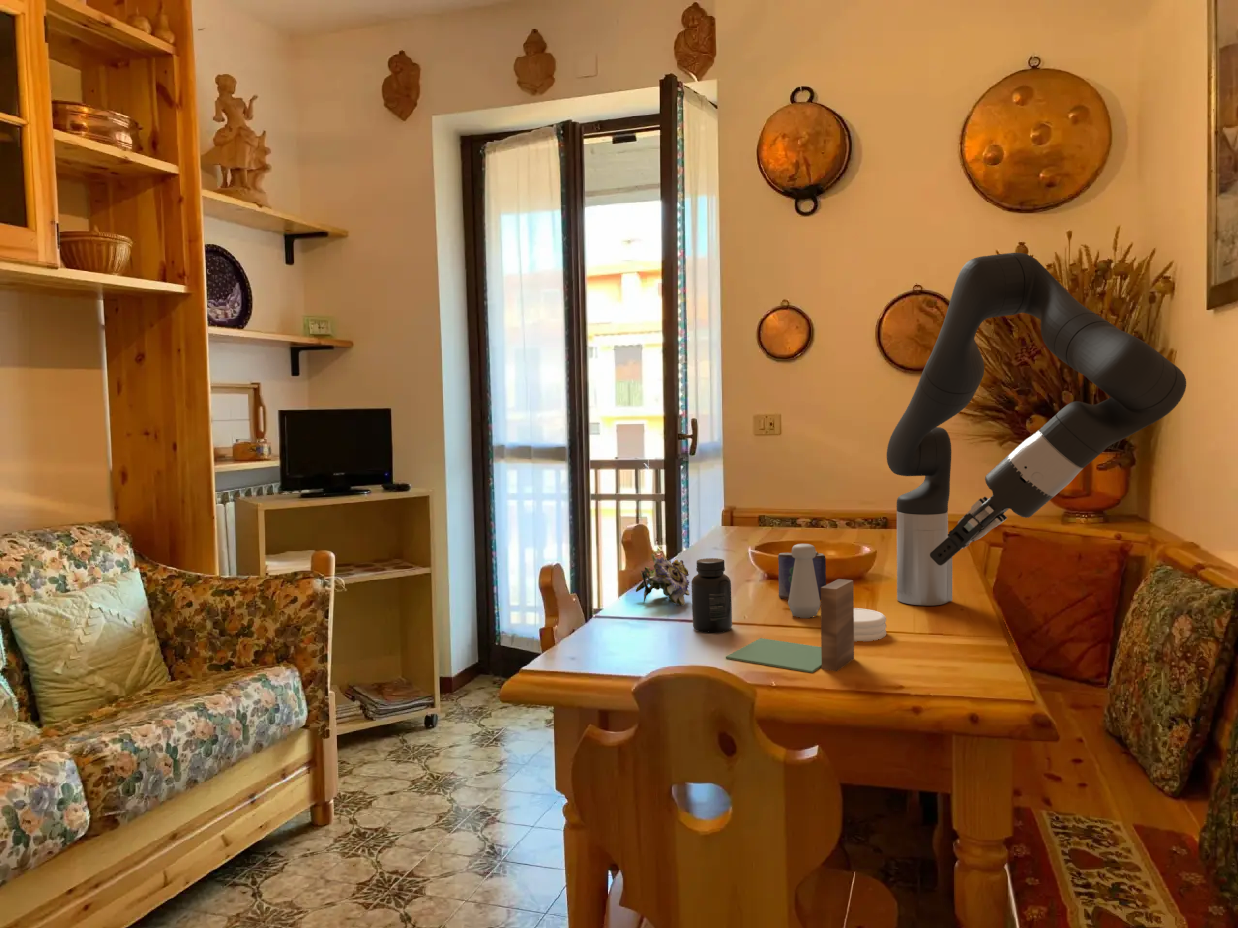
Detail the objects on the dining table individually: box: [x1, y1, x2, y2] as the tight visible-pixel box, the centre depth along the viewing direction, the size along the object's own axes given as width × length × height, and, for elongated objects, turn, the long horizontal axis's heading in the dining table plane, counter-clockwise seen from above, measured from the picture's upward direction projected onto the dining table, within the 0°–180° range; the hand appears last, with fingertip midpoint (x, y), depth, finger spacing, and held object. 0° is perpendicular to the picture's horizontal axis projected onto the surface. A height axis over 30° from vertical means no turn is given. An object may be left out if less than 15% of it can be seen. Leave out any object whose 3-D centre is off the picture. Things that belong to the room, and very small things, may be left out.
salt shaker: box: [787, 543, 821, 619], centre depth 157 cm, size 6×6×13 cm
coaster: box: [854, 607, 887, 642], centre depth 145 cm, size 10×10×4 cm
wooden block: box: [820, 578, 855, 672], centre depth 128 cm, size 2×7×12 cm, turn 145°
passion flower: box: [635, 553, 691, 607], centre depth 171 cm, size 11×11×12 cm
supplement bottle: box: [691, 557, 733, 634], centre depth 150 cm, size 7×7×12 cm
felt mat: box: [725, 637, 822, 674], centre depth 133 cm, size 14×12×1 cm
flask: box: [777, 551, 827, 600], centre depth 171 cm, size 9×3×11 cm, turn 71°
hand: (935, 559), depth 119 cm, fingers closed
